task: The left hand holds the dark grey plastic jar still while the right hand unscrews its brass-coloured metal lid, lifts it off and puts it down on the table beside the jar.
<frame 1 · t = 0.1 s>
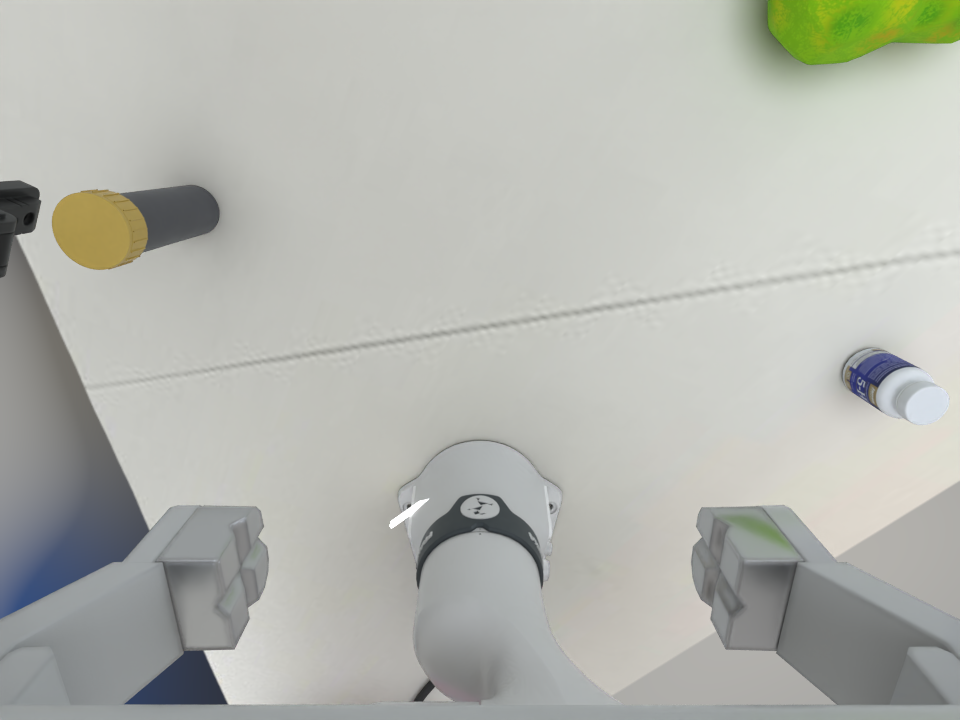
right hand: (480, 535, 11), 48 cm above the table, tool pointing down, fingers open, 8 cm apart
jar: (195, 210, 55), on the table
lid: (94, 231, 41), point 15 cm above the table, screwed on, not yet turned
pill bottle: (864, 370, 61), on the table
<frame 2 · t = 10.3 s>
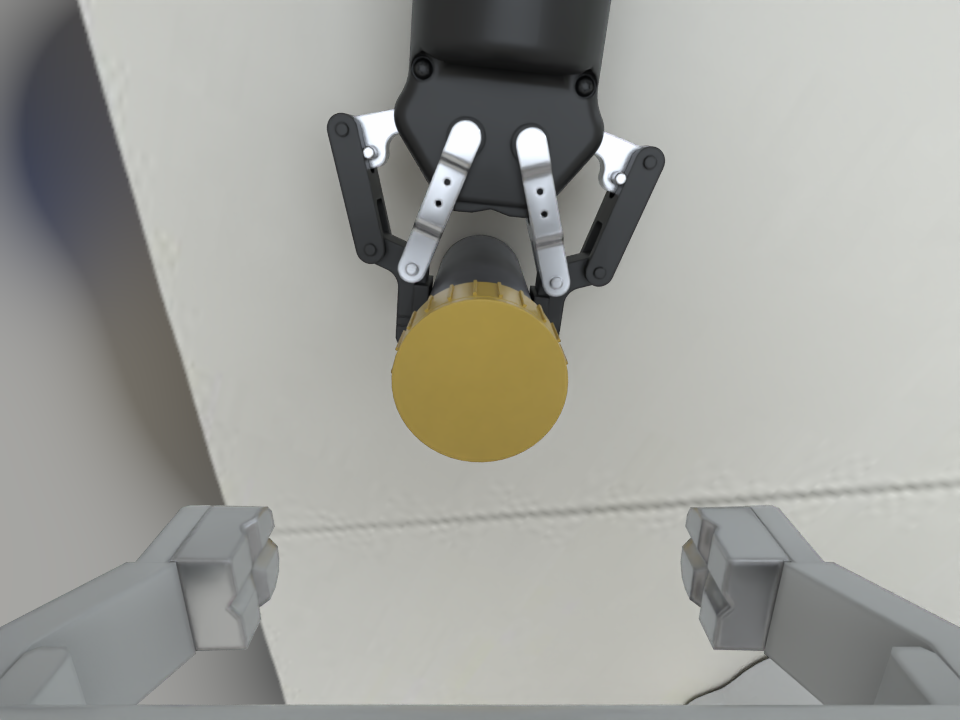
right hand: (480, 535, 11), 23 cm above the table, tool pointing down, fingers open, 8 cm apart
jar: (480, 276, 32), on the table, touching left hand
lid: (479, 381, 18), point 15 cm above the table, screwed on, not yet turned
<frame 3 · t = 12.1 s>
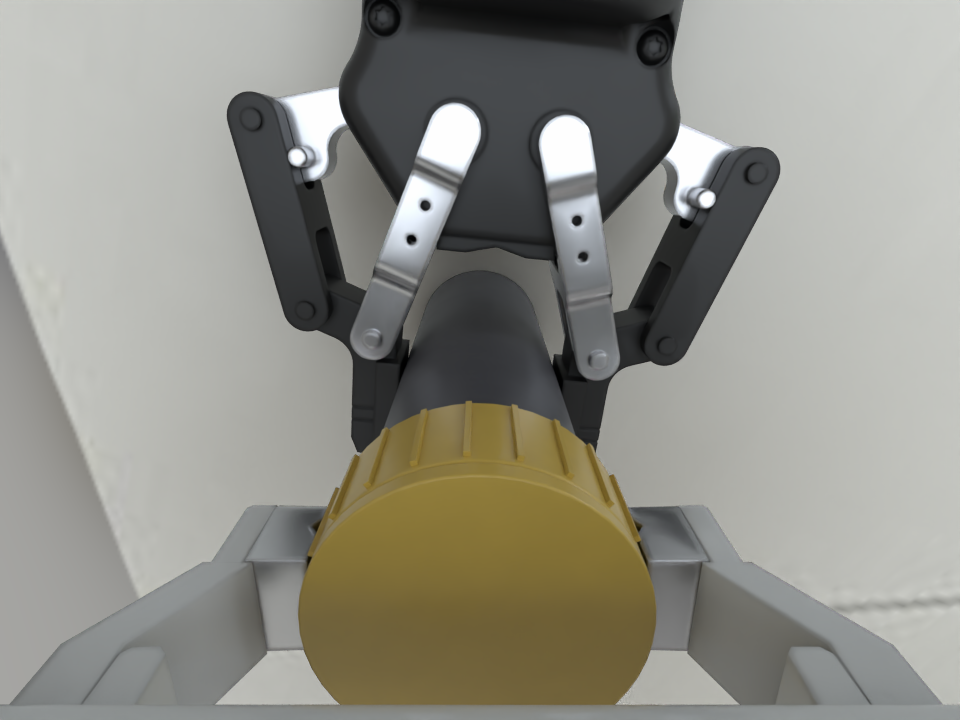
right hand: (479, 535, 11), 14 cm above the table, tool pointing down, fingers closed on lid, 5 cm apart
jar: (479, 326, 23), on the table, touching left hand
lid: (477, 613, 9), point 15 cm above the table, screwed on, not yet turned, touching right hand
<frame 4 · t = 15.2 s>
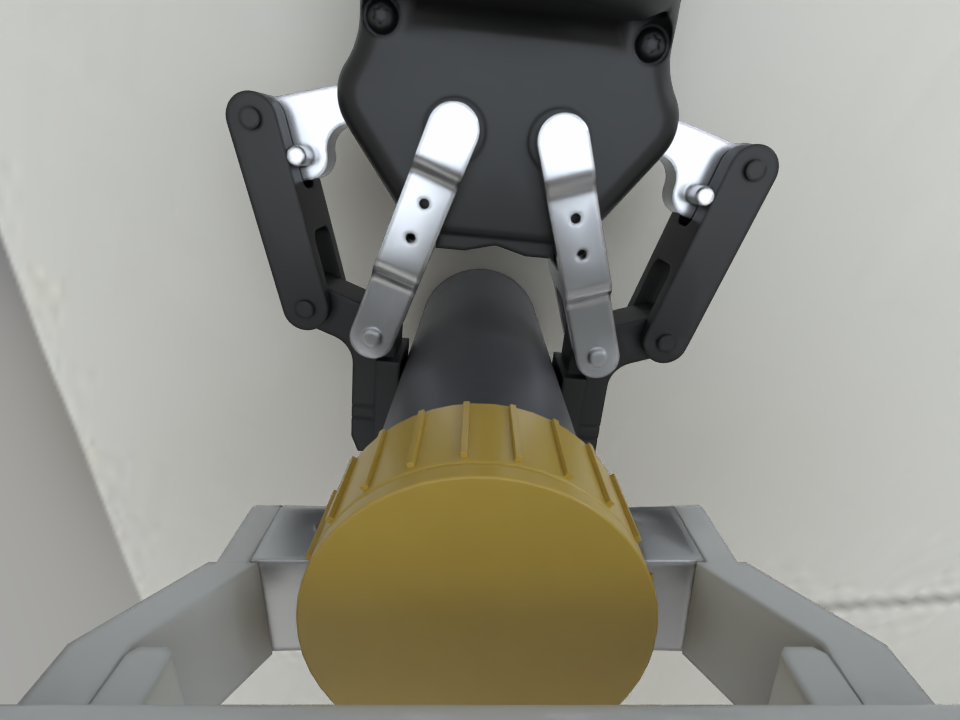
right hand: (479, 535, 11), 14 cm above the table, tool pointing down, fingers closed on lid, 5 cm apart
jar: (479, 324, 23), on the table, touching left hand
lid: (477, 615, 9), point 16 cm above the table, turned 82° so far, risen 0.1 cm, still on its thread, touching right hand
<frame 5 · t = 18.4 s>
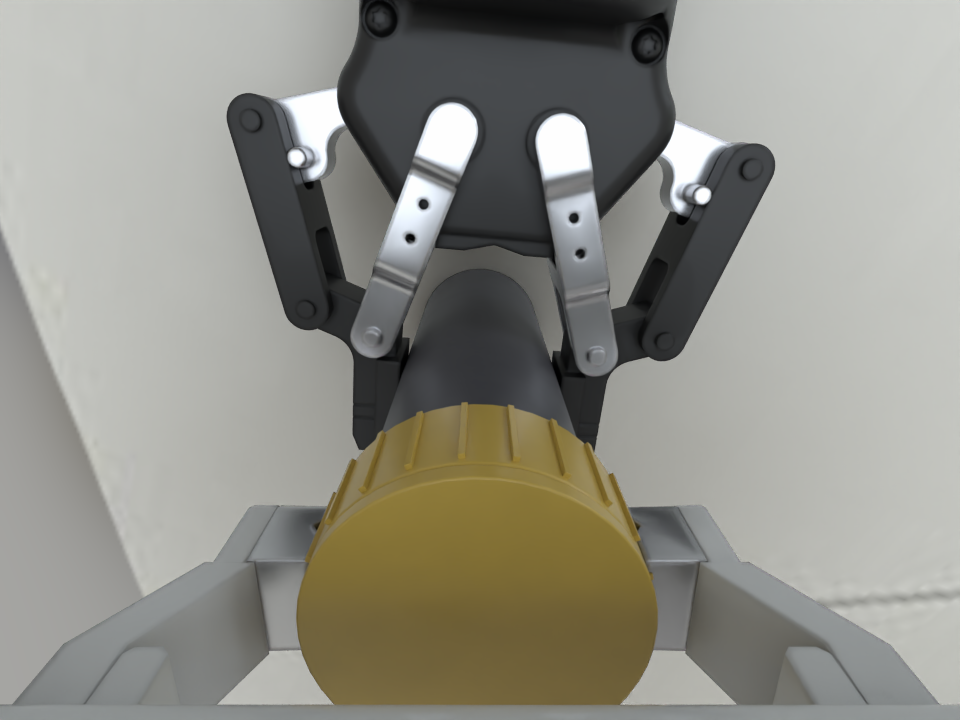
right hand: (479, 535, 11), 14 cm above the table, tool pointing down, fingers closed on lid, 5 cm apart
left hand: (472, 461, 18), fingers closed on jar, 4 cm apart
jar: (479, 324, 24), on the table, touching left hand
lid: (477, 616, 9), point 16 cm above the table, turned 164° so far, risen 0.2 cm, still on its thread, touching right hand
when the right hand's fingers open (2 cm above the table, at t = 34.7 s): lid drops 1 cm, point 2 cm above the table.
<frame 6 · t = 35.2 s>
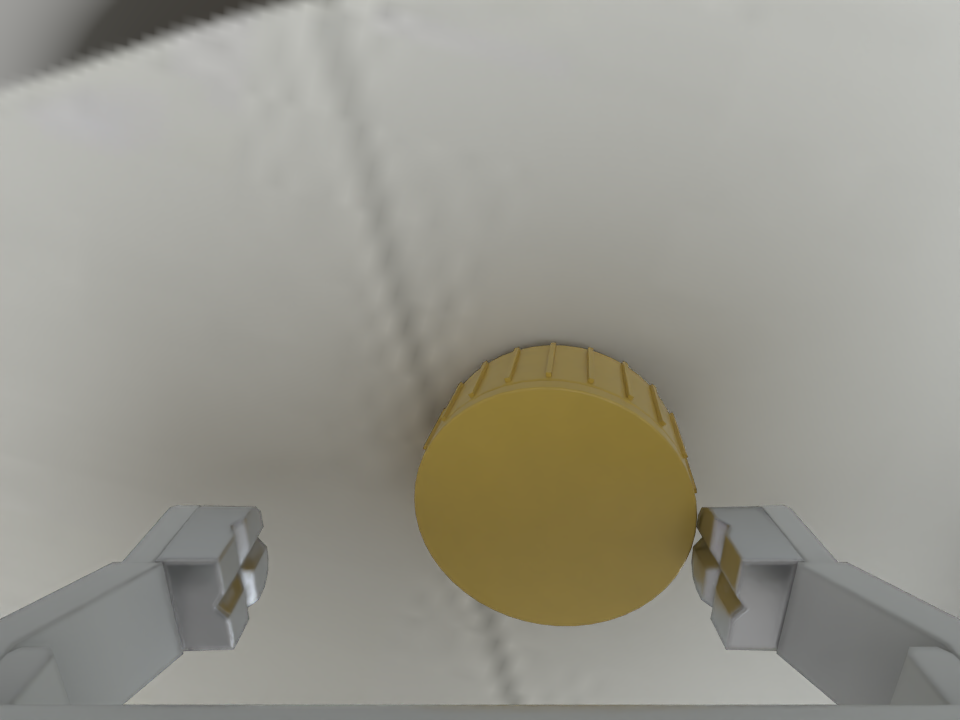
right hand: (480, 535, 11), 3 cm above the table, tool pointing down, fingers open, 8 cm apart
lid: (550, 506, 11), point 2 cm above the table, tilted 9°, off its thread
when the left hand's fingers open (6 cm above the table, at t = 35.7 s): jar stays where it is, on the table.
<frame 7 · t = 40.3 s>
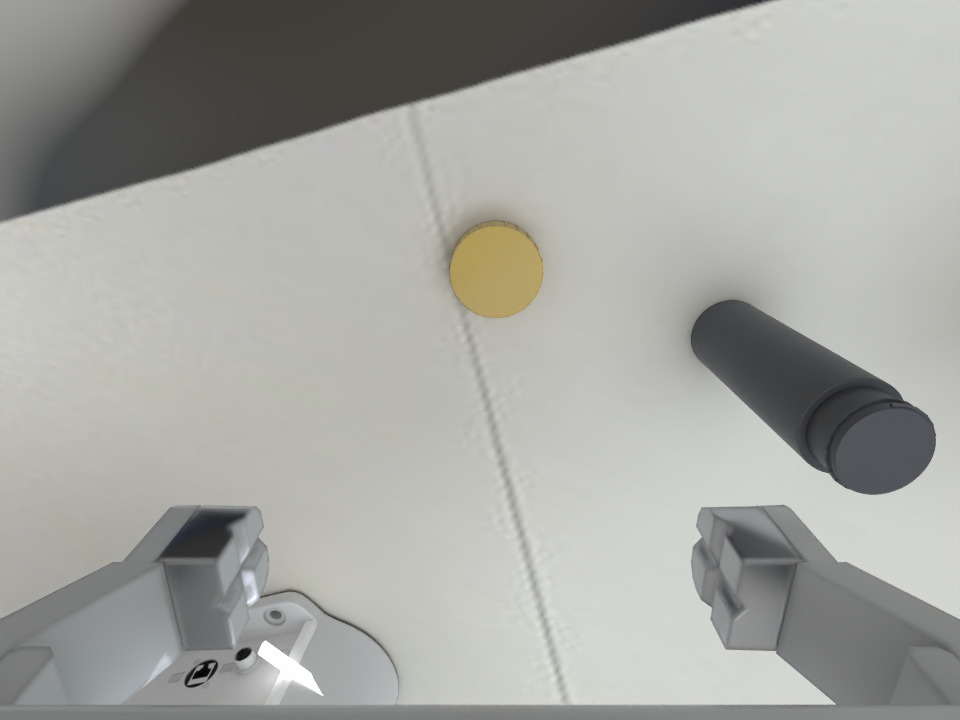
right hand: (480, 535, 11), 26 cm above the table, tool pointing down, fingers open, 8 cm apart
jar: (727, 334, 37), on the table
lid: (496, 272, 33), point 2 cm above the table, off its thread
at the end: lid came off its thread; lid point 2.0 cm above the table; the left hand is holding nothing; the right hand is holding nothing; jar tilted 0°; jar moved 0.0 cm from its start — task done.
